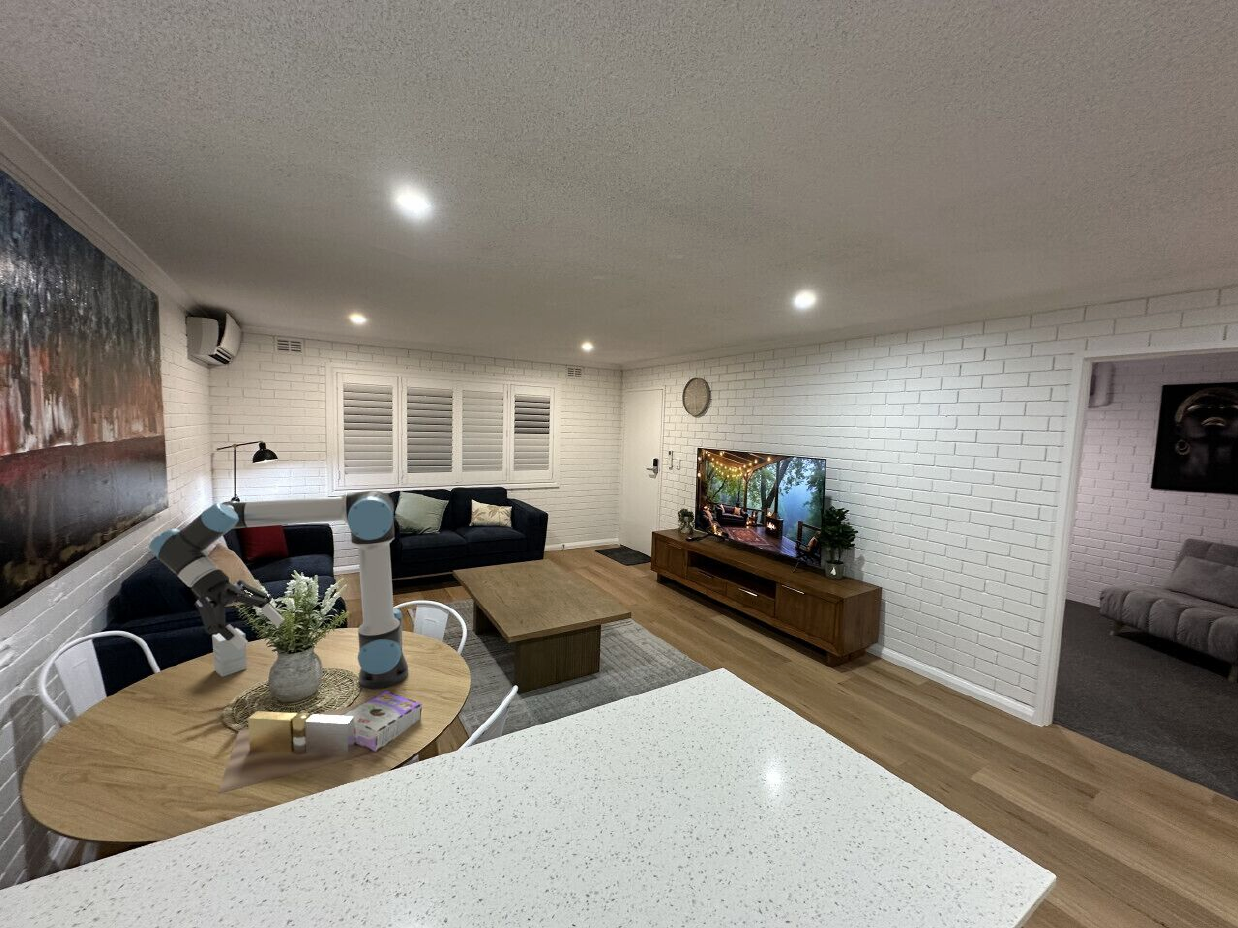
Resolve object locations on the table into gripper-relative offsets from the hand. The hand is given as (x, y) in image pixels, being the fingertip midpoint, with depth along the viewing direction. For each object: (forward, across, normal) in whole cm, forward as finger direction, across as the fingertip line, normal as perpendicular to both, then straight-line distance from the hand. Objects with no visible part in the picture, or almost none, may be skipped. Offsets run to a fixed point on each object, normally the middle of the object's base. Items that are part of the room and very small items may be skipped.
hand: (263, 633), depth 135 cm
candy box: (+42, -12, +4) cm, 43 cm away
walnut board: (+29, +4, -12) cm, 32 cm away
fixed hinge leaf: (+34, +7, -6) cm, 35 cm away
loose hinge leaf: (+26, +7, -14) cm, 30 cm away
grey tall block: (-5, -31, -46) cm, 56 cm away
